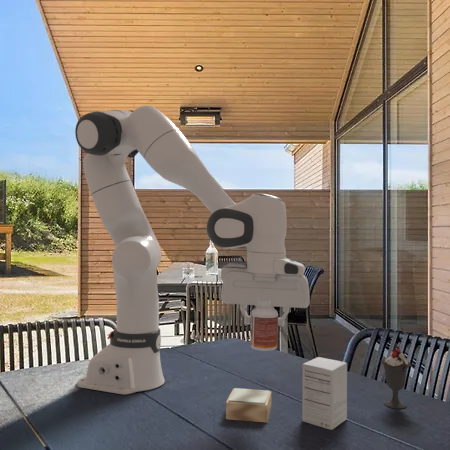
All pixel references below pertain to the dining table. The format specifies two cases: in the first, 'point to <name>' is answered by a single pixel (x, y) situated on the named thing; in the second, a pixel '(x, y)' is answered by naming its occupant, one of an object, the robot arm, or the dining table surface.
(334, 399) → the supplement box
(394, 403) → the sundae
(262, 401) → the plinth
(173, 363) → the dining table surface
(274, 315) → the pill bottle
